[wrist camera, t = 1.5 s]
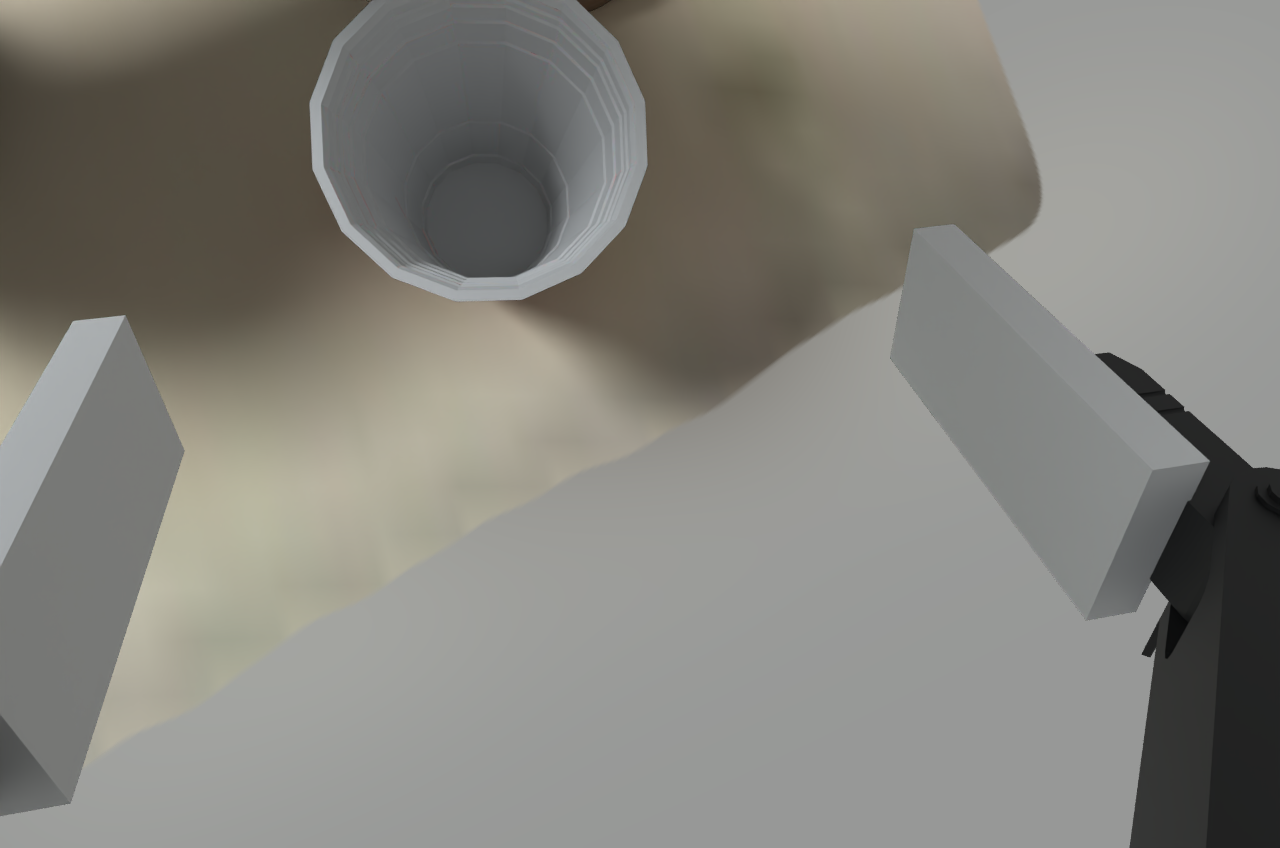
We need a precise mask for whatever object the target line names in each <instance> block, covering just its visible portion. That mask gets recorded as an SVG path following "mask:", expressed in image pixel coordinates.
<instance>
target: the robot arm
mask: <svg viewBox="0 0 1280 848" xmlns="http://www.w3.org/2000/svg"><path fill="white" fill-rule="evenodd" d="M890 359H891V360H892V362H893V363H894V364H895V366H896V367H897V368H898V370H899V371H900V372H901V374H902V375H903V376H904V378H905V379H906V380H907V382H908V383H909V384H910V386H911V387H912V388H913V390H914V391H915V392H916V394H917V395H918V396H919V398H920V399H921V400H922V402H923V403H924V405H925V406H926V407H927V409H928V410H929V411H930V413H931V414H932V415H933V417H934V418H935V419H936V421H937V422H938V423H939V425H940V426H941V427H942V429H943V430H944V431H945V432H946V434H947V435H948V437H950V439H951V441H952V442H953V443H954V445H955V446H956V447H957V449H958V450H959V451H960V453H961V454H962V455H963V457H964V458H965V459H966V461H967V462H968V463H969V465H970V466H971V467H972V469H973V470H974V471H975V473H976V474H977V475H978V477H979V478H980V479H981V481H982V482H983V483H984V485H985V486H986V487H987V489H988V490H989V492H990V493H991V494H992V495H993V497H994V498H995V500H996V501H997V502H998V504H999V505H1000V506H1001V508H1002V509H1003V510H1004V512H1005V513H1006V514H1007V516H1008V517H1009V518H1010V520H1011V521H1012V522H1013V524H1014V525H1015V526H1016V528H1017V529H1018V530H1019V532H1020V533H1021V534H1022V536H1023V537H1024V538H1025V540H1026V541H1027V542H1028V544H1029V545H1030V546H1031V548H1032V549H1033V550H1034V552H1035V553H1036V554H1037V556H1038V557H1039V558H1040V560H1041V561H1042V562H1043V564H1044V565H1045V566H1046V568H1047V569H1048V570H1049V572H1050V573H1051V574H1052V576H1053V577H1054V578H1055V580H1056V581H1057V582H1058V584H1059V585H1060V587H1061V588H1062V589H1063V591H1064V592H1065V593H1066V594H1067V596H1068V597H1069V599H1070V600H1071V601H1072V603H1073V604H1074V605H1075V606H1076V608H1077V609H1078V610H1079V612H1080V613H1081V615H1082V616H1083V617H1084V619H1085V620H1091V619H1098V618H1103V617H1109V616H1114V615H1119V614H1125V613H1130V612H1136V611H1137V609H1138V607H1139V604H1140V602H1141V600H1142V598H1143V596H1144V594H1145V592H1146V590H1147V588H1148V586H1149V584H1150V582H1151V581H1152V582H1153V583H1154V585H1155V586H1156V587H1157V588H1158V589H1159V590H1160V592H1161V593H1162V594H1163V595H1164V596H1165V597H1166V599H1168V601H1169V602H1168V604H1167V606H1166V608H1165V610H1164V612H1163V614H1162V616H1161V618H1160V619H1159V621H1158V623H1157V625H1156V627H1155V629H1154V631H1153V633H1152V635H1151V637H1150V639H1149V641H1148V643H1147V645H1146V646H1145V649H1144V651H1143V652H1142V655H1145V656H1147V657H1151V655H1152V653H1153V652H1154V650H1155V648H1156V652H1155V660H1154V667H1153V675H1152V682H1151V690H1150V697H1149V705H1148V713H1147V720H1146V728H1145V736H1144V743H1143V751H1142V758H1141V766H1140V773H1139V781H1138V788H1137V796H1136V803H1135V812H1134V818H1133V826H1132V834H1131V842H1130V848H1280V469H1274V468H1267V467H1265V468H1252V467H1251V466H1250V465H1249V464H1248V463H1247V462H1246V461H1244V460H1243V459H1242V458H1241V457H1240V456H1239V455H1237V453H1235V452H1234V451H1233V450H1232V449H1231V448H1230V447H1229V446H1227V445H1226V444H1225V443H1224V442H1223V441H1222V440H1221V439H1220V438H1219V437H1217V436H1216V435H1215V434H1214V433H1213V432H1212V431H1211V430H1210V429H1208V428H1207V427H1206V426H1205V425H1204V424H1203V423H1202V422H1201V421H1199V420H1198V419H1197V418H1196V417H1195V416H1194V415H1193V414H1192V413H1190V412H1189V411H1187V412H1185V411H1184V406H1182V405H1181V404H1180V403H1179V402H1178V401H1177V400H1176V399H1175V398H1174V397H1172V396H1171V395H1170V394H1167V395H1166V394H1165V389H1163V388H1162V387H1161V386H1160V385H1159V384H1158V383H1157V382H1156V381H1154V380H1153V379H1152V378H1151V377H1150V376H1149V375H1148V374H1146V373H1145V372H1144V371H1143V370H1142V369H1140V368H1138V367H1136V366H1134V365H1132V364H1130V363H1129V362H1127V361H1125V360H1123V359H1121V358H1119V357H1117V356H1115V355H1113V354H1111V353H1102V354H1094V353H1093V352H1092V351H1090V350H1089V349H1088V348H1087V347H1086V346H1085V345H1084V344H1083V343H1082V342H1081V341H1080V340H1079V339H1078V338H1077V337H1075V336H1074V335H1073V334H1072V333H1071V332H1070V331H1069V330H1068V329H1067V328H1066V327H1065V326H1064V325H1062V324H1061V323H1060V322H1059V321H1058V320H1057V319H1056V318H1055V317H1054V316H1053V315H1052V314H1051V313H1050V312H1049V311H1047V310H1046V309H1045V308H1044V307H1043V306H1042V305H1041V304H1040V303H1039V302H1038V301H1037V300H1036V299H1035V298H1033V297H1032V296H1031V295H1030V294H1029V293H1028V292H1027V291H1026V290H1025V289H1024V288H1023V287H1022V286H1020V285H1019V284H1018V283H1017V282H1016V281H1015V280H1014V279H1013V278H1012V277H1011V276H1010V275H1009V274H1008V273H1006V272H1005V271H1004V270H1003V269H1002V268H1001V267H1000V266H999V265H998V264H997V263H996V262H994V261H993V260H992V259H991V258H990V257H989V256H988V255H987V254H986V253H985V252H984V251H983V250H982V249H981V248H980V247H978V246H977V245H976V244H975V243H974V242H973V241H972V240H971V239H970V238H969V237H968V236H967V235H966V234H964V233H963V232H962V231H961V230H960V229H959V228H958V227H957V226H956V225H955V224H951V225H942V226H933V227H923V228H914V231H913V236H912V242H911V247H910V252H909V258H908V263H907V269H906V274H905V280H904V285H903V290H902V297H901V301H900V307H899V312H898V317H897V323H896V328H895V334H894V339H893V345H892V350H891V356H890ZM183 454H184V448H183V446H182V444H181V441H180V439H179V437H178V435H177V432H176V430H175V428H174V425H173V423H172V421H171V418H170V416H169V414H168V412H167V409H166V407H165V405H164V402H163V400H162V398H161V395H160V393H159V391H158V389H157V386H156V384H155V382H154V379H153V377H152V375H151V372H150V370H149V368H148V366H147V363H146V361H145V359H144V356H143V354H142V352H141V349H140V347H139V345H138V343H137V340H136V338H135V336H134V333H133V331H132V329H131V327H130V324H129V322H128V320H127V317H126V315H122V316H113V317H104V318H95V319H86V320H77V321H73V322H72V324H71V325H70V327H69V329H68V331H67V332H66V334H65V336H64V338H63V339H62V341H61V343H60V344H59V346H58V348H57V350H56V351H55V353H54V355H53V356H52V358H51V360H50V362H49V363H48V365H47V367H46V369H45V370H44V372H43V374H42V375H41V377H40V379H39V381H38V382H37V384H36V386H35V387H34V389H33V391H32V393H31V394H30V396H29V398H28V399H27V401H26V403H25V405H24V406H23V408H22V410H21V412H20V413H19V415H18V417H17V418H16V420H15V422H14V424H13V425H12V427H11V429H10V430H9V432H8V434H7V436H6V437H5V439H4V441H3V443H2V444H1V446H0V816H3V815H8V814H15V813H20V812H26V811H31V810H37V809H42V808H48V807H53V806H59V805H65V804H70V803H71V800H72V797H73V794H74V791H75V788H76V785H77V782H78V779H79V776H80V773H81V770H82V766H83V763H84V760H85V757H86V754H87V751H88V748H89V745H90V742H91V739H92V735H93V732H94V729H95V726H96V723H97V720H98V717H99V714H100V711H101V708H102V705H103V701H104V698H105V695H106V692H107V689H108V686H109V683H110V680H111V677H112V674H113V670H114V667H115V664H116V661H117V658H118V655H119V652H120V649H121V646H122V643H123V640H124V636H125V633H126V630H127V627H128V624H129V621H130V618H131V615H132V612H133V609H134V605H135V602H136V599H137V596H138V593H139V590H140V587H141V584H142V581H143V578H144V574H145V571H146V568H147V565H148V562H149V559H150V556H151V553H152V550H153V547H154V544H155V540H156V537H157V534H158V531H159V528H160V525H161V522H162V519H163V516H164V513H165V509H166V506H167V503H168V500H169V497H170V494H171V491H172V488H173V485H174V482H175V479H176V475H177V472H178V469H179V466H180V463H181V460H182V457H183Z"/></svg>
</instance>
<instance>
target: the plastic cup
mask: <svg viewBox="0 0 1280 848" xmlns="http://www.w3.org/2000/svg"><path fill="white" fill-rule="evenodd" d="M309 103H310V125H311V147H312V169H313V172H314V174H315V176H316V178H317V180H318V182H319V184H320V187H321V189H322V191H323V193H324V195H325V197H326V199H327V201H328V203H329V206H330V208H331V210H332V212H333V214H334V216H335V218H336V220H337V223H338V225H339V227H340V229H341V231H342V232H343V233H344V234H345V235H346V236H347V237H348V238H349V239H350V240H352V241H353V242H354V243H355V244H356V245H357V246H358V247H359V248H360V249H361V250H362V251H364V252H365V253H366V254H367V255H368V256H369V257H370V258H371V259H372V260H373V261H374V262H376V263H377V264H378V265H379V266H380V267H381V268H382V269H383V270H384V271H385V272H386V273H388V274H389V275H390V276H391V277H392V278H394V279H397V280H400V281H402V282H405V283H408V284H410V285H413V286H416V287H418V288H421V289H424V290H426V291H429V292H432V293H434V294H437V295H440V296H442V297H445V298H448V299H450V300H453V301H493V300H522V299H525V298H527V297H529V296H531V295H534V294H536V293H538V292H540V291H543V290H545V289H547V288H549V287H552V286H554V285H556V284H558V283H561V282H563V281H565V280H567V279H570V278H572V277H574V276H576V275H579V274H581V273H582V272H583V271H584V270H585V269H586V268H587V267H588V266H589V265H590V264H591V262H592V261H593V260H594V259H595V258H596V257H597V256H598V255H599V254H600V253H601V252H602V251H603V250H604V249H605V247H606V246H607V245H608V244H609V243H610V242H611V241H612V240H613V239H614V238H615V237H616V236H617V235H618V234H619V233H620V231H621V230H622V229H623V228H624V227H625V226H626V223H627V220H628V218H629V215H630V212H631V210H632V207H633V204H634V201H635V199H636V196H637V193H638V191H639V188H640V185H641V183H642V180H643V177H644V174H645V172H646V169H647V166H648V163H647V138H646V112H645V100H644V98H643V95H642V93H641V91H640V89H639V86H638V84H637V82H636V80H635V78H634V75H633V73H632V71H631V69H630V66H629V64H628V62H627V60H626V57H625V55H624V53H623V51H622V49H621V46H620V44H619V42H618V40H617V39H616V38H615V37H614V36H613V35H612V34H611V33H609V32H608V31H607V30H606V29H605V28H604V27H603V26H602V25H601V24H600V23H599V22H598V21H597V20H596V19H595V18H594V17H593V16H592V15H591V14H590V13H589V12H588V11H587V10H586V9H585V8H584V7H583V6H582V5H581V4H580V3H579V2H578V1H577V0H372V1H371V2H370V3H369V4H368V5H367V6H366V7H365V8H364V9H363V10H362V11H361V12H360V13H359V14H358V15H357V16H356V17H355V18H354V19H353V20H352V21H351V22H350V23H349V24H348V25H347V26H346V27H345V28H344V29H343V30H342V31H341V32H340V33H339V34H338V35H337V36H336V38H335V39H334V40H333V42H332V44H331V47H330V50H329V52H328V55H327V57H326V60H325V63H324V65H323V68H322V71H321V73H320V76H319V79H318V81H317V84H316V86H315V89H314V92H313V94H312V97H311V100H310V102H309Z"/></svg>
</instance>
